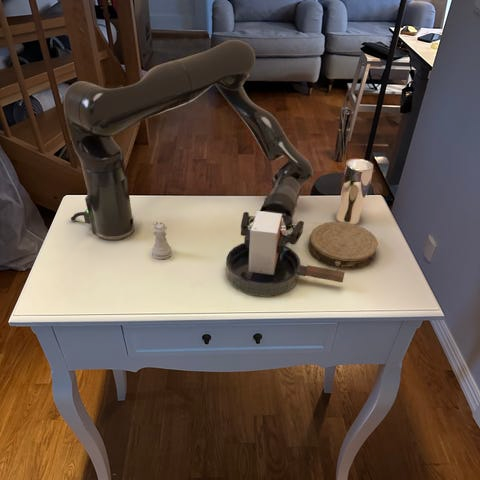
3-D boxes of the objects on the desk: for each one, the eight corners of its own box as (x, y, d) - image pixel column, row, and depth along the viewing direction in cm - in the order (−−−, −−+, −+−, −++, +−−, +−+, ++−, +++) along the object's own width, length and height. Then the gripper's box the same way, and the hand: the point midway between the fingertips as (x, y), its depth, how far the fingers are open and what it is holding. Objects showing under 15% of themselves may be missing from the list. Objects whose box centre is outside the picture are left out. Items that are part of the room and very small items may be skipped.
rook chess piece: (175, 252, 106) (173, 222, 100) (165, 262, 103) (162, 232, 97) (159, 247, 107) (156, 217, 101) (148, 257, 104) (144, 226, 98)
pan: (216, 288, 96) (216, 275, 94) (237, 247, 108) (237, 235, 105) (291, 303, 93) (293, 290, 91) (304, 260, 105) (306, 247, 102)
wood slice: (311, 228, 115) (313, 217, 113) (374, 236, 113) (377, 226, 111) (305, 264, 104) (307, 253, 101) (375, 274, 102) (378, 263, 99)
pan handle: (296, 274, 97) (297, 268, 96) (298, 268, 98) (299, 262, 97) (342, 283, 95) (343, 277, 94) (343, 276, 97) (344, 271, 95)
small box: (273, 276, 96) (277, 233, 88) (247, 272, 96) (249, 230, 89) (278, 254, 101) (283, 213, 94) (254, 251, 102) (256, 209, 95)
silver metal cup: (334, 211, 122) (344, 157, 111) (360, 213, 121) (373, 159, 111) (334, 224, 117) (345, 169, 106) (361, 227, 116) (375, 171, 106)
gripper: (308, 226, 106) (295, 267, 94) (249, 216, 108) (229, 255, 97) (312, 197, 101) (299, 237, 89) (250, 187, 103) (229, 225, 91)
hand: (262, 246), depth 93 cm, fingers closed on small box, 6 cm apart
